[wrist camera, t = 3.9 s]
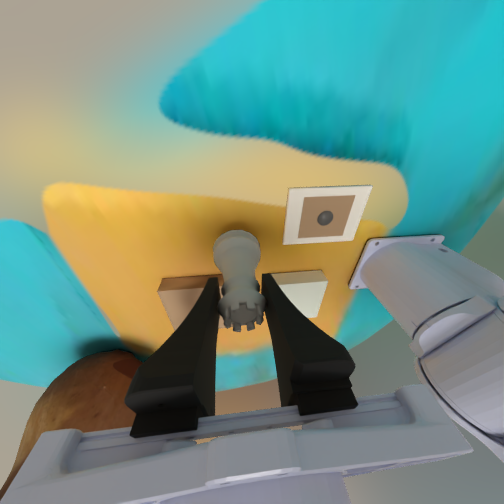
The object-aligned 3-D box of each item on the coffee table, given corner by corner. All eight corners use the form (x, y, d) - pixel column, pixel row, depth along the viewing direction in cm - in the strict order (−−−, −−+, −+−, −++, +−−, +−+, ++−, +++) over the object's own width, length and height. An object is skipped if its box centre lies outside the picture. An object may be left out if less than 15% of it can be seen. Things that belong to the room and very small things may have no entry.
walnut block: (230, 273, 22) (230, 285, 20) (234, 314, 26) (235, 326, 25) (162, 278, 21) (157, 291, 20) (179, 319, 26) (175, 332, 24)
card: (370, 184, 17) (374, 186, 17) (350, 238, 21) (353, 241, 20) (288, 187, 17) (290, 189, 16) (282, 242, 20) (283, 245, 19)
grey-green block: (321, 270, 23) (328, 281, 21) (311, 305, 27) (316, 317, 25) (267, 274, 22) (270, 285, 21) (265, 309, 26) (267, 321, 25)
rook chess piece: (206, 233, 16) (194, 305, 10) (254, 222, 16) (275, 287, 10) (220, 269, 19) (218, 346, 12) (262, 260, 19) (282, 331, 12)
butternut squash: (62, 364, 29) (-319, 908, 9) (92, 324, 24) (-586, 1304, 4) (146, 381, 36) (35, 721, 15) (183, 351, 31) (93, 791, 10)
